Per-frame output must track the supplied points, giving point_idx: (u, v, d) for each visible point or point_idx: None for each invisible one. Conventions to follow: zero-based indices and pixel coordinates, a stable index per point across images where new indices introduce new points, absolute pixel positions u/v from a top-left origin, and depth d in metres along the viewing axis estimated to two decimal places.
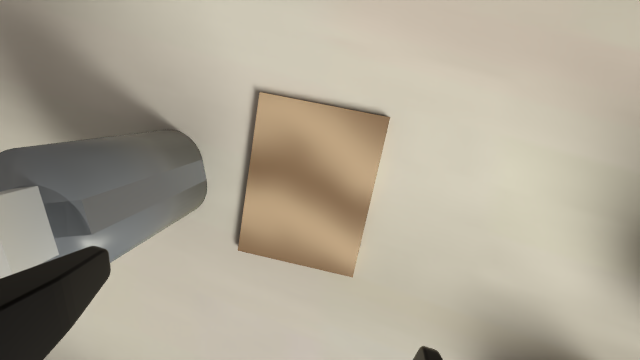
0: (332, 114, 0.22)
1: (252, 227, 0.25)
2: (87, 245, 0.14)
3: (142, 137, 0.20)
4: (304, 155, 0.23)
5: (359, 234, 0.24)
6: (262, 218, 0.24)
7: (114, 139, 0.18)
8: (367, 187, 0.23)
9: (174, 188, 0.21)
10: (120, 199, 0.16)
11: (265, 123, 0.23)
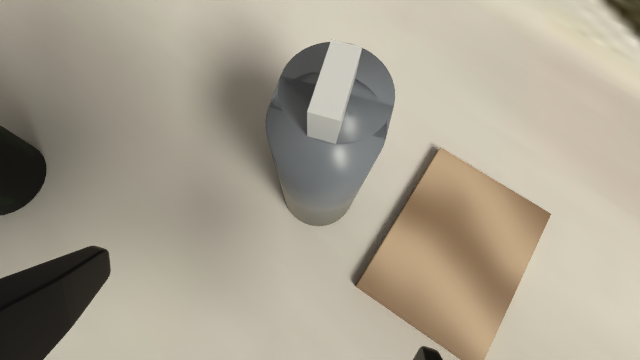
0: (500, 190, 0.24)
1: (384, 266, 0.22)
2: (374, 147, 0.13)
3: None
4: (464, 215, 0.23)
5: (498, 318, 0.21)
6: (399, 260, 0.22)
7: None
8: (517, 270, 0.22)
9: None
10: None
11: (436, 173, 0.24)
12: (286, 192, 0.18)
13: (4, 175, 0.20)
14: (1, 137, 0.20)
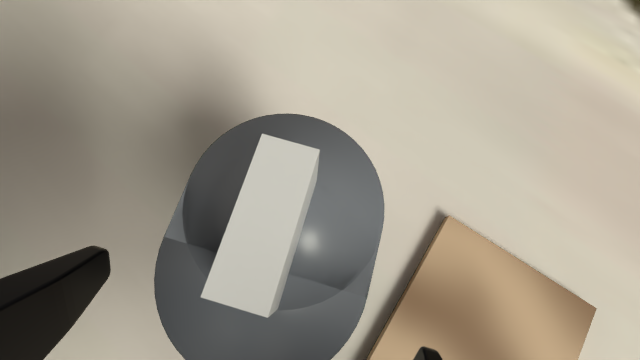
0: (528, 275, 0.18)
1: None
2: (347, 314, 0.07)
3: None
4: (481, 311, 0.17)
5: None
6: None
7: None
8: None
9: None
10: None
11: (443, 252, 0.18)
12: None
13: None
14: None
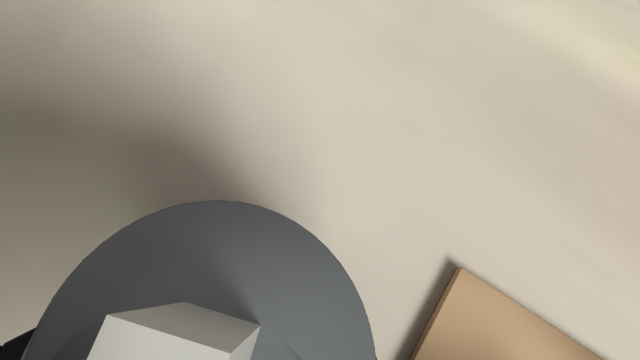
0: (560, 345, 0.15)
1: None
2: None
3: None
4: None
5: None
6: None
7: None
8: None
9: None
10: None
11: (455, 315, 0.15)
12: None
13: None
14: None
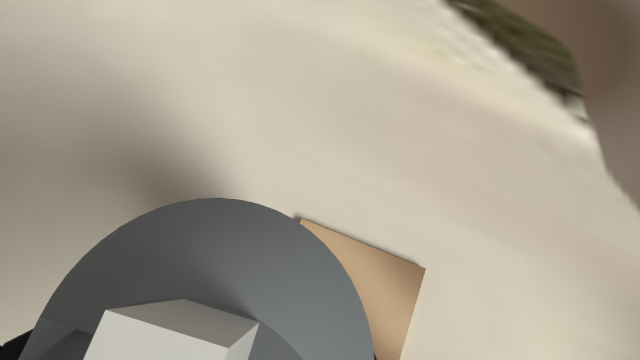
0: (369, 254, 0.22)
1: None
2: None
3: None
4: None
5: None
6: None
7: None
8: (396, 343, 0.21)
9: None
10: None
11: None
12: None
13: None
14: None
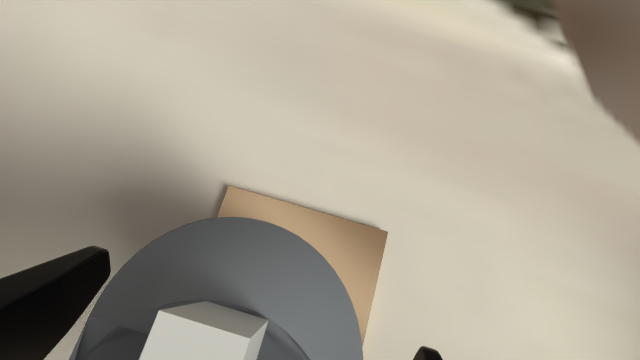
0: (317, 221, 0.18)
1: None
2: None
3: None
4: None
5: None
6: None
7: None
8: None
9: None
10: None
11: None
12: None
13: None
14: None
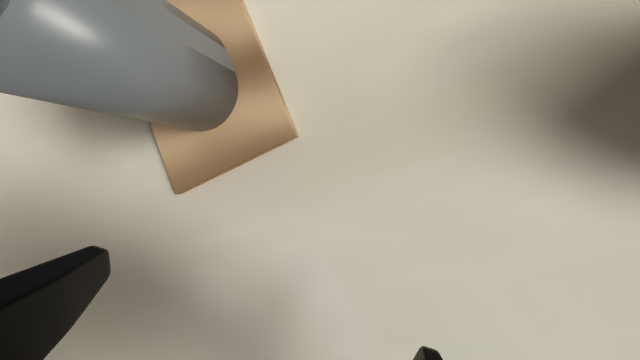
0: None
1: (174, 158, 0.21)
2: None
3: None
4: None
5: (270, 83, 0.19)
6: (177, 142, 0.21)
7: None
8: (245, 32, 0.20)
9: (186, 38, 0.16)
10: None
11: None
12: (118, 115, 0.15)
13: None
14: None
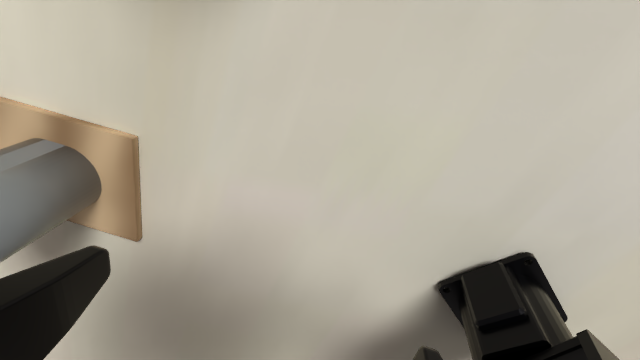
0: None
1: (111, 225, 0.26)
2: None
3: None
4: None
5: (84, 128, 0.22)
6: (100, 216, 0.26)
7: None
8: (38, 117, 0.23)
9: None
10: None
11: None
12: (26, 244, 0.20)
13: None
14: None
